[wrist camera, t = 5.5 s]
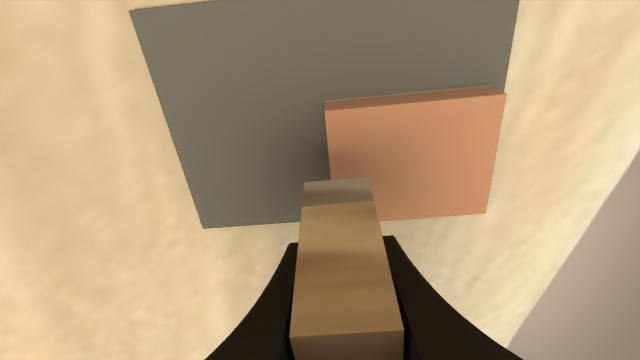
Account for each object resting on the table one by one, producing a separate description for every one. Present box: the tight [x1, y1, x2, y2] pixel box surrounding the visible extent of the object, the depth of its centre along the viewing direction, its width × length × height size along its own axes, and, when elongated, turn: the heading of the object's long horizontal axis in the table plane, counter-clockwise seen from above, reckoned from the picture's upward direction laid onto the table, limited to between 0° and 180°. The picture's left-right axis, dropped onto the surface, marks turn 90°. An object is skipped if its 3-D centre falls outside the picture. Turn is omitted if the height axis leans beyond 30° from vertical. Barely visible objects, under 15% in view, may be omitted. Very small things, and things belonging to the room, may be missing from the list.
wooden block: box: [289, 177, 404, 360], centre depth 13 cm, size 3×3×8 cm
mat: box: [129, 0, 519, 229], centre depth 22 cm, size 15×21×1 cm
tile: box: [324, 85, 507, 221], centre depth 22 cm, size 8×2×10 cm
